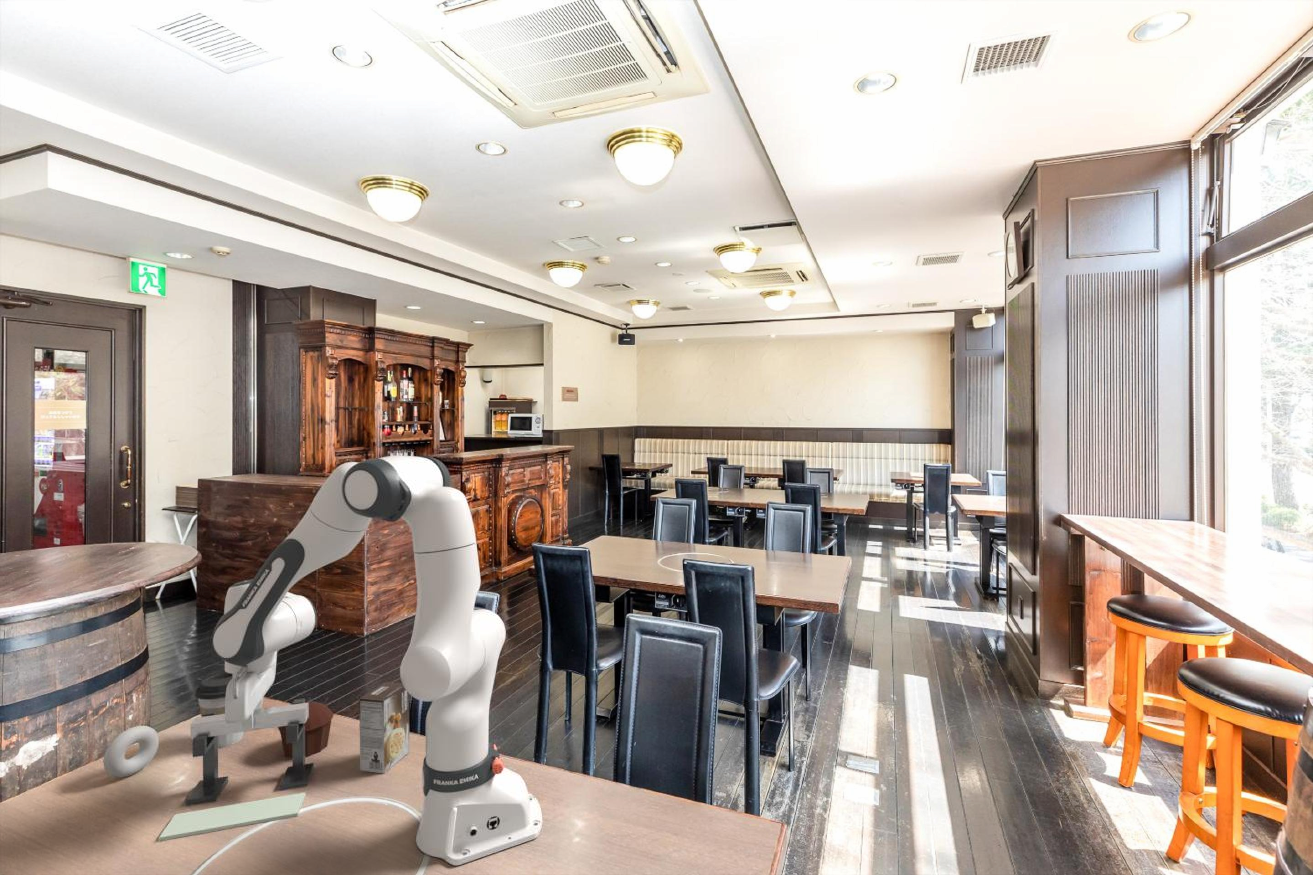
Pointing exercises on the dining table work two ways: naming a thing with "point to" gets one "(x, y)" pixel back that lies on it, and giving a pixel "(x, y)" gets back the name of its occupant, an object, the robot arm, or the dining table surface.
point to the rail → (262, 718)
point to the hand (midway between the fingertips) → (252, 724)
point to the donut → (118, 747)
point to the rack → (214, 786)
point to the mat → (233, 816)
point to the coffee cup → (216, 702)
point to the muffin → (312, 730)
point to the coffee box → (384, 727)
